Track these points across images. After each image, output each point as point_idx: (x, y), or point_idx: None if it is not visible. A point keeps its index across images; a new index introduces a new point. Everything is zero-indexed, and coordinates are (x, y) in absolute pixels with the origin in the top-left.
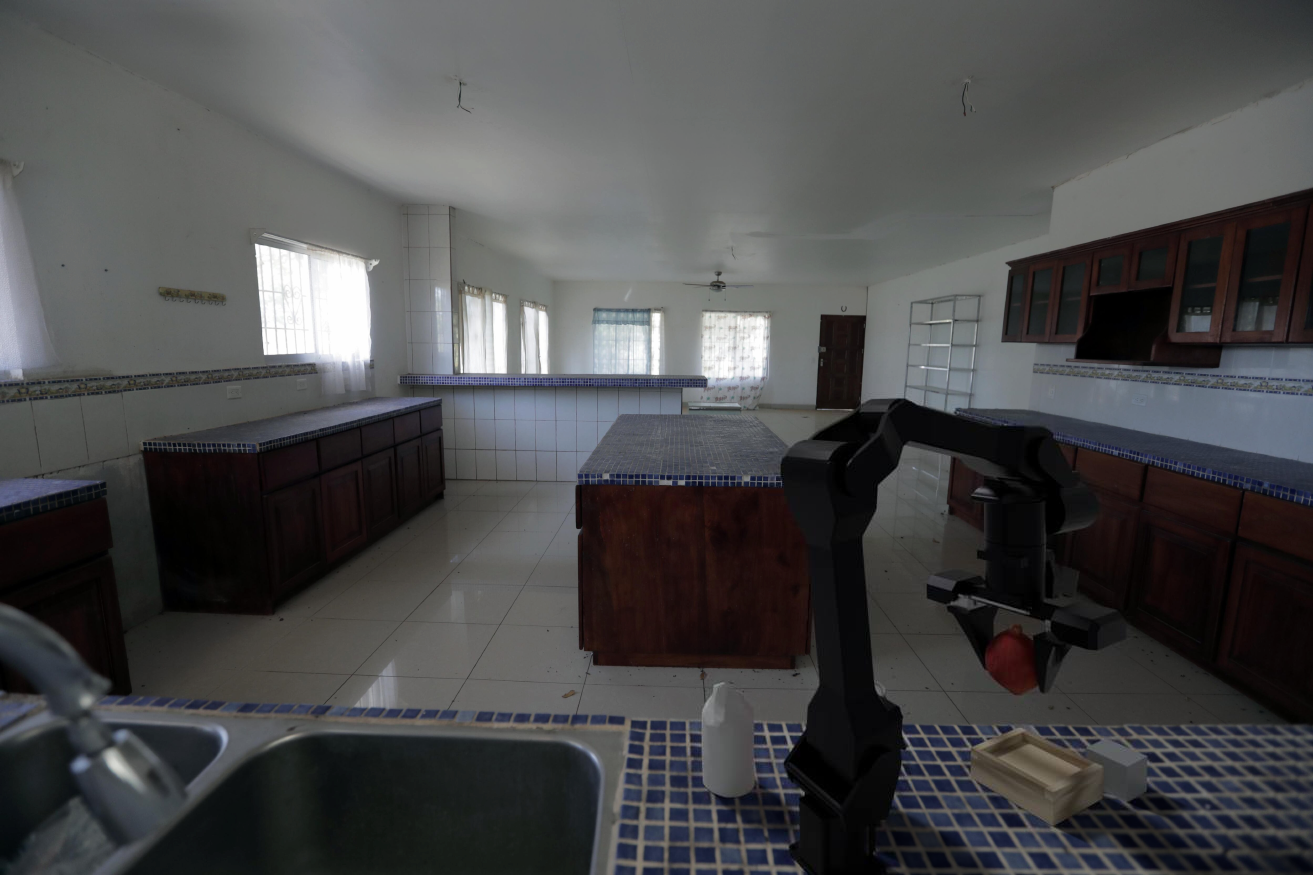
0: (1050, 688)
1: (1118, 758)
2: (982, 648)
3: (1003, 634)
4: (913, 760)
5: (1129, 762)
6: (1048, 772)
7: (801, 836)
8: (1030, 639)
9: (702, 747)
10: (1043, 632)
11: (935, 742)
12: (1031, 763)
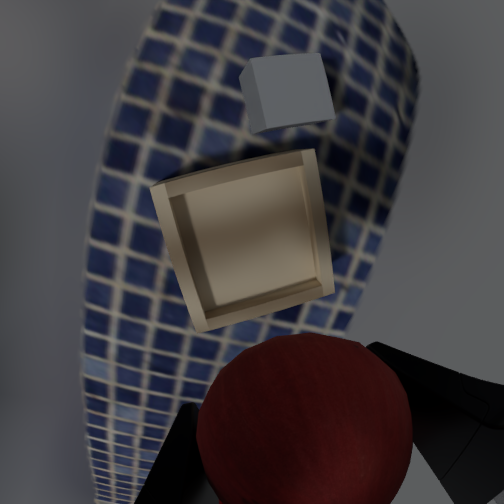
0: (383, 344)
1: (312, 105)
2: (214, 493)
3: None
4: (143, 353)
5: (327, 101)
6: (272, 233)
7: None
8: (396, 483)
9: None
10: (487, 502)
11: (98, 297)
12: (241, 240)
